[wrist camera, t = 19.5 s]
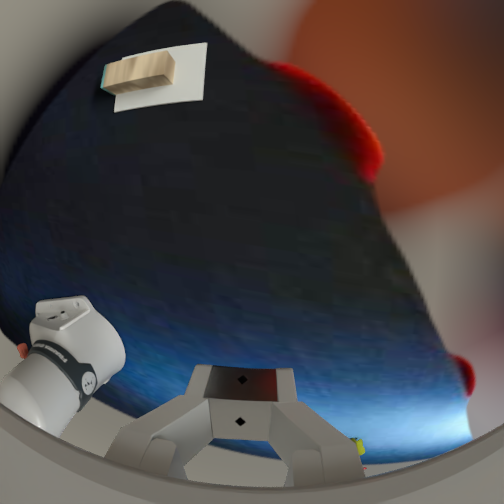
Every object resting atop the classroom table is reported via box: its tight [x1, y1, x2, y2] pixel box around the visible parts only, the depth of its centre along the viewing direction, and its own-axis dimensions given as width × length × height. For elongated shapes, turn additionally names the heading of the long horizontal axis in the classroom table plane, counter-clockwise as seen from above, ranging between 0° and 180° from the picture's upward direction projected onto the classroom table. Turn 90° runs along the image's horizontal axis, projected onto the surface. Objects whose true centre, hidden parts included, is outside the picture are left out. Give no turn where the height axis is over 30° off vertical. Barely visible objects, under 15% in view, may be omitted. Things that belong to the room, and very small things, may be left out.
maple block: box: [101, 50, 175, 95], centre depth 29 cm, size 4×4×10 cm
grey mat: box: [114, 43, 207, 113], centre depth 32 cm, size 14×10×1 cm
